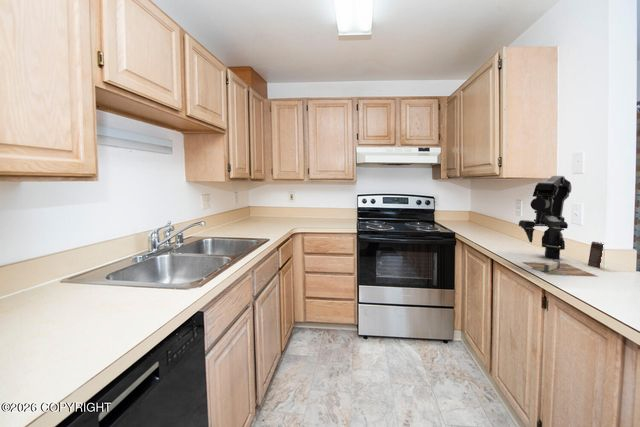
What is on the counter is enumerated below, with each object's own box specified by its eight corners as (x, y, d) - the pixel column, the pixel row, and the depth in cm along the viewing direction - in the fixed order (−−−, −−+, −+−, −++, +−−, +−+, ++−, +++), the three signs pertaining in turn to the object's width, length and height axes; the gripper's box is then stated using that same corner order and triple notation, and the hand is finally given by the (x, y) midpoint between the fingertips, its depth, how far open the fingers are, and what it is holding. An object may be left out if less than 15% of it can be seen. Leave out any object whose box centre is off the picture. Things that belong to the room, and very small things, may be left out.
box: (600, 270, 142) (603, 244, 141) (587, 267, 145) (590, 242, 144) (601, 267, 146) (604, 242, 145) (588, 265, 149) (591, 241, 148)
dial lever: (553, 265, 142) (554, 259, 142) (560, 267, 140) (561, 260, 139) (541, 270, 135) (542, 263, 134) (549, 271, 133) (549, 264, 132)
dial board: (518, 264, 150) (518, 261, 150) (564, 265, 149) (564, 262, 148) (545, 277, 130) (545, 274, 130) (599, 279, 128) (599, 276, 128)
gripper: (534, 211, 134) (531, 246, 136) (578, 211, 133) (575, 246, 135) (519, 208, 145) (516, 240, 147) (560, 208, 144) (557, 241, 146)
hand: (541, 242), depth 144 cm, fingers open, 9 cm apart
